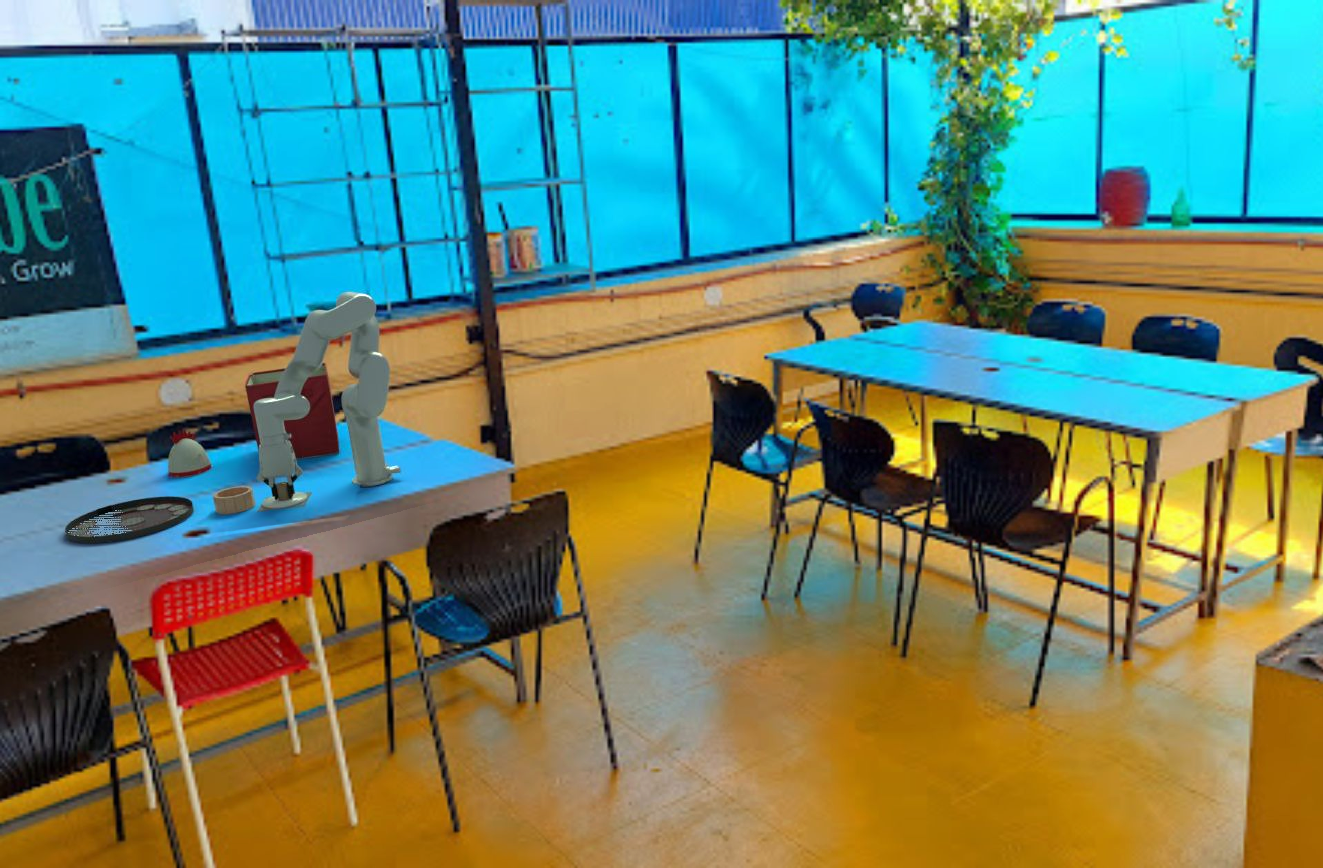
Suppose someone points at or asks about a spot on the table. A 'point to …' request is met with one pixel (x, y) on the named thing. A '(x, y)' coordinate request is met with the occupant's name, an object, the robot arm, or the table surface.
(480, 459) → the table surface
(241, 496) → the bowl
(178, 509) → the palette wheel
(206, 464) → the beanie hat
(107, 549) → the table surface
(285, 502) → the lid
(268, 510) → the mat
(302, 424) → the storage cube
